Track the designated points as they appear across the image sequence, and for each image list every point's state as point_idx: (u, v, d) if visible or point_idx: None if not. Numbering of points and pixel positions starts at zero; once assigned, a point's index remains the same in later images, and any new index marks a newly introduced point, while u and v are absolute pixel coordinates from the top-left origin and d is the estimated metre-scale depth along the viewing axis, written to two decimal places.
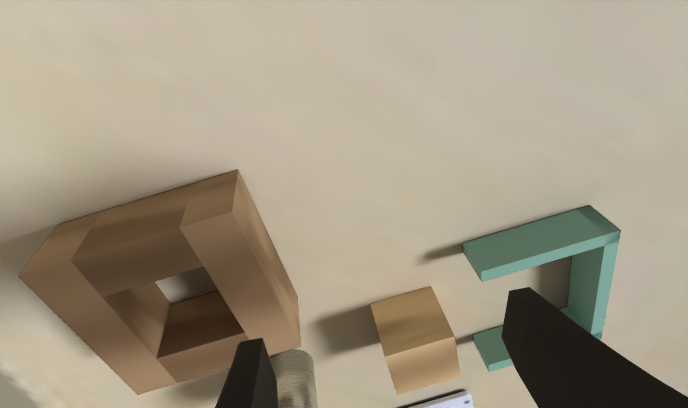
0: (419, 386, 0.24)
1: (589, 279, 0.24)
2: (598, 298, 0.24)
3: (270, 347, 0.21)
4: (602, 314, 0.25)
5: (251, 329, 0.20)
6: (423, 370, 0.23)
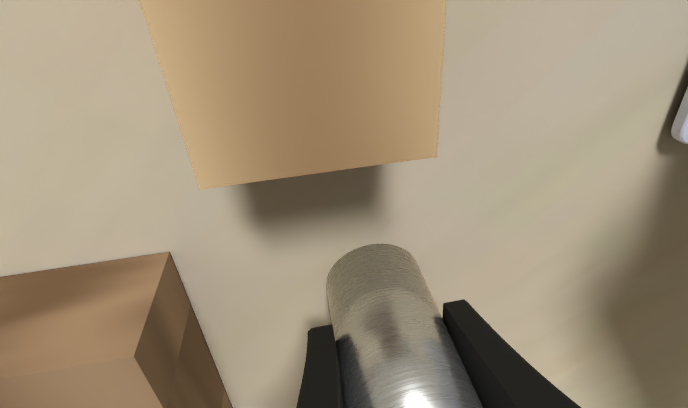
0: (427, 73, 0.06)
1: None
2: None
3: (129, 399, 0.09)
4: None
5: None
6: (323, 54, 0.06)
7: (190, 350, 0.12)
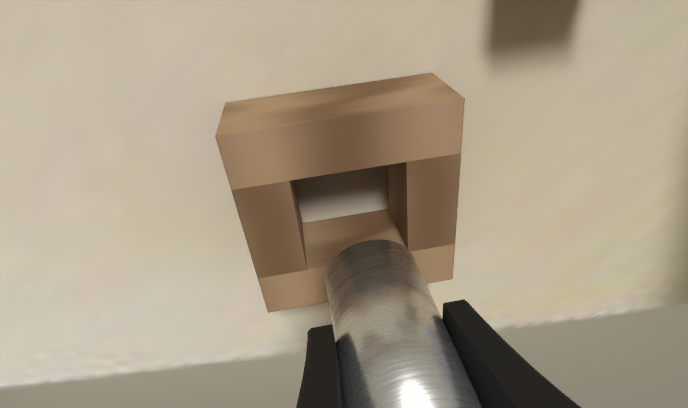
0: None
1: None
2: None
3: (447, 138, 0.15)
4: None
5: (404, 153, 0.15)
6: None
7: None
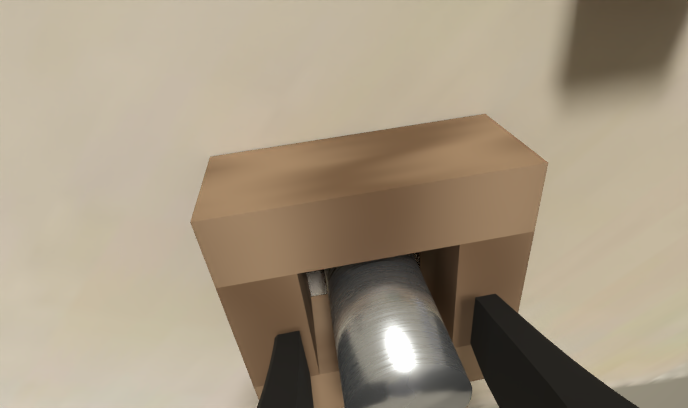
0: None
1: None
2: None
3: (517, 213, 0.11)
4: None
5: (458, 234, 0.11)
6: None
7: None
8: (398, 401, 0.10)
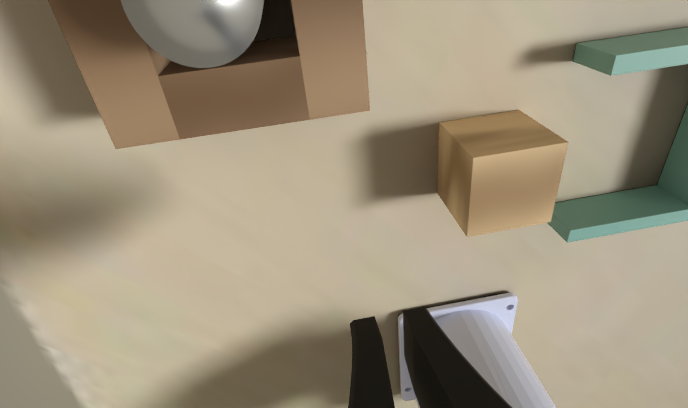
0: (497, 227, 0.18)
1: None
2: None
3: (328, 100, 0.14)
4: None
5: (310, 52, 0.13)
6: (511, 197, 0.17)
7: None
8: None
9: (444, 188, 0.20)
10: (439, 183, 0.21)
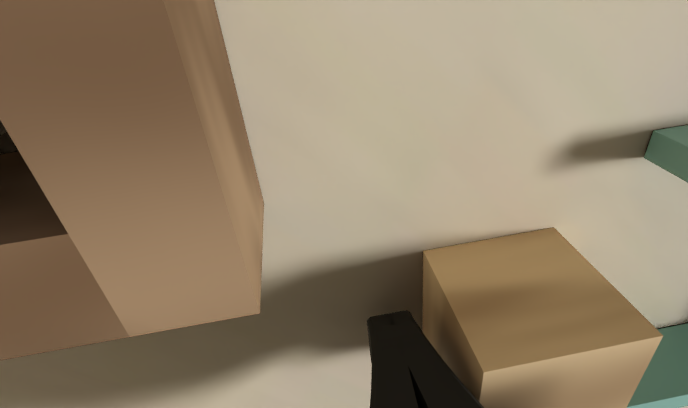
0: None
1: None
2: None
3: (162, 304, 0.06)
4: None
5: (93, 225, 0.06)
6: None
7: None
8: None
9: None
10: (425, 333, 0.13)
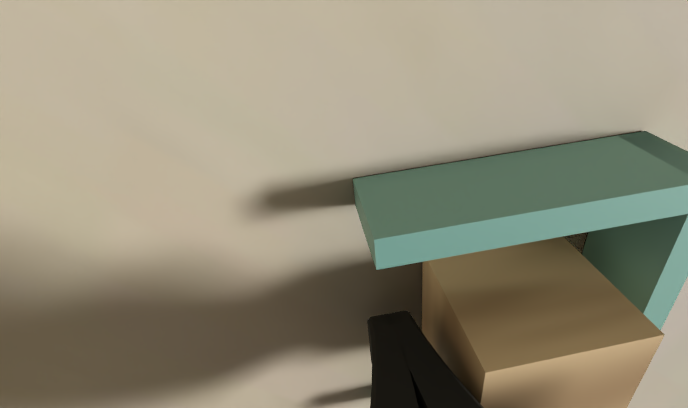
0: None
1: None
2: None
3: None
4: None
5: None
6: None
7: None
8: None
9: None
10: (425, 334, 0.13)
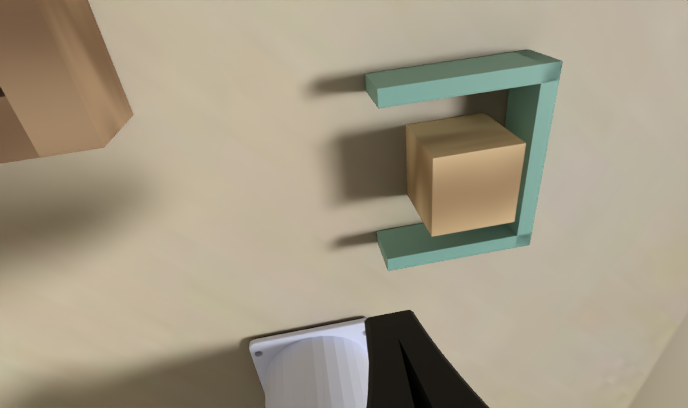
0: (461, 227, 0.18)
1: None
2: (529, 176, 0.19)
3: (53, 138, 0.14)
4: (532, 204, 0.20)
5: (16, 92, 0.13)
6: (473, 197, 0.18)
7: None
8: None
9: (412, 189, 0.20)
10: (408, 185, 0.21)
